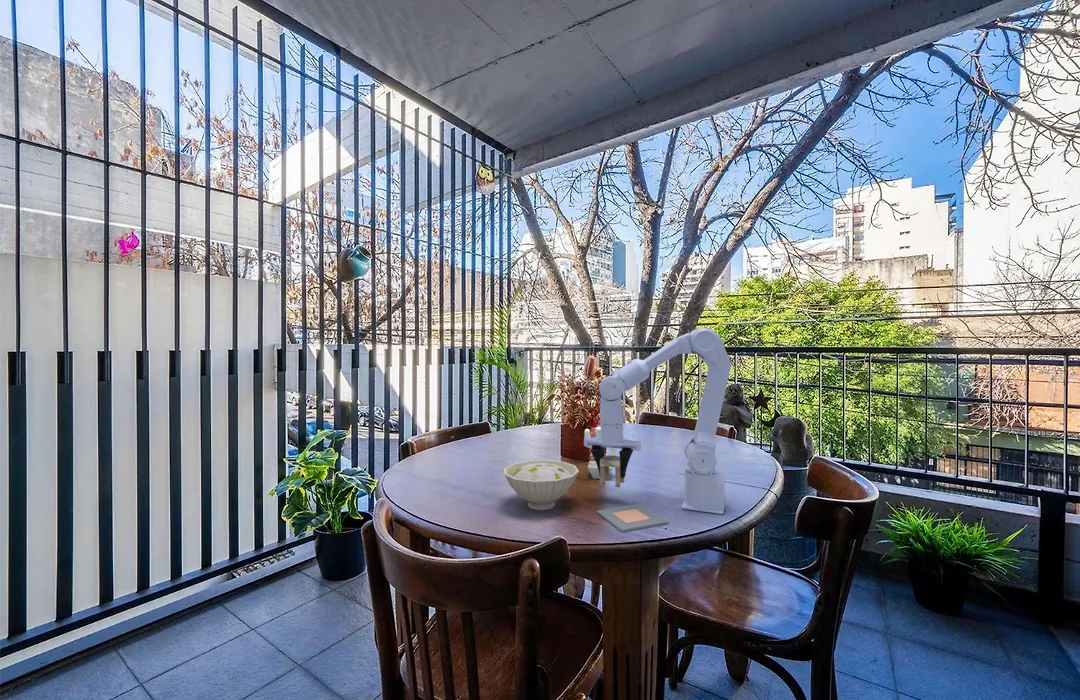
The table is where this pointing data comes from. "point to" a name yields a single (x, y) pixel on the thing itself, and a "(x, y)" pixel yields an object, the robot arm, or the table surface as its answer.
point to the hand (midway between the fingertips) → (612, 475)
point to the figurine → (592, 464)
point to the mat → (631, 517)
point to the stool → (604, 469)
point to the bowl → (541, 481)
